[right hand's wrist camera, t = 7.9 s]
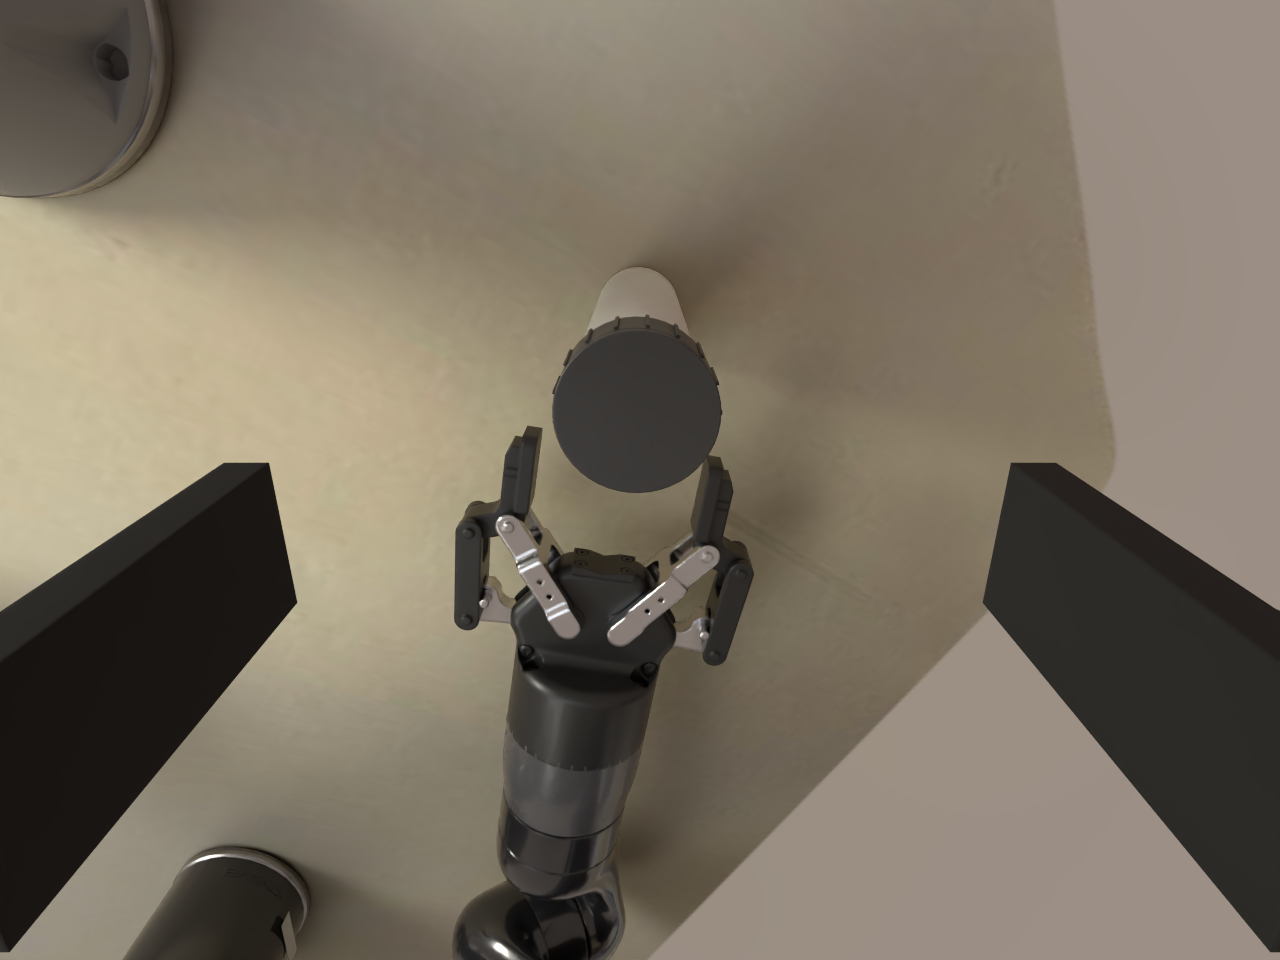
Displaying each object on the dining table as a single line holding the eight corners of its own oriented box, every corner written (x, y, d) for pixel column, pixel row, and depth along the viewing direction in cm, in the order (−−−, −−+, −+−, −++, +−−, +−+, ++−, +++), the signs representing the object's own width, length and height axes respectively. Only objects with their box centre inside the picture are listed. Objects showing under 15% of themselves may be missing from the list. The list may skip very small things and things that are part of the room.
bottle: (621, 251, 36) (605, 309, 19) (693, 292, 37) (738, 381, 20) (583, 325, 38) (538, 439, 21) (654, 362, 38) (665, 502, 22)
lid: (603, 283, 21) (599, 294, 19) (745, 361, 22) (757, 381, 20) (532, 422, 23) (521, 448, 20) (667, 490, 23) (670, 521, 21)
